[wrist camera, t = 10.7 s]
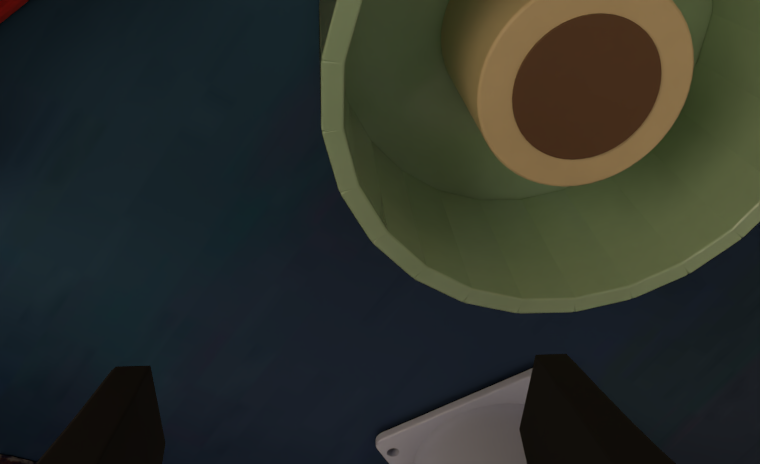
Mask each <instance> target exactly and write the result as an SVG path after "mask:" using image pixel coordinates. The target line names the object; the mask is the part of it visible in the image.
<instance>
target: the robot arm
mask: <svg viewBox="0 0 760 464" xmlns="http://www.w3.org/2000/svg"><path fill="white" fill-rule="evenodd" d="M376 447H377V449H378V451H379V452H380V453H381V454H382V456H383V457H384V458H385V459H386V460H387V462H388V463H389V464H676V463H675V462H673V461H672V460H671V459H670V458H669V457H668V456H667V455H666V454H665V453H663V452H662V451H661V450H660V449H659V448H658V447H657V446H656V445H655V444H654V443H653V442H652V441H651V440H650V439H649V438H648V437H647V436H646V435H645V434H644V433H643V432H642V431H641V430H640V429H639V428H638V427H637V426H636V425H634V424H633V423H632V422H631V421H630V420H629V419H628V418H627V417H626V416H625V415H624V414H623V412H622V411H621V410H620V409H619V408H618V407H617V406H616V405H615V404H614V403H613V402H612V401H611V400H610V399H609V398H608V397H607V396H606V395H605V394H604V393H603V392H602V391H601V390H600V389H599V388H598V387H597V385H596V384H595V383H594V382H593V381H592V380H591V379H590V378H589V377H588V376H587V375H586V374H585V373H584V372H583V371H582V370H581V369H580V368H579V367H578V365H577V364H576V363H575V362H574V361H573V360H572V359H571V358H570V357H569V356H568V355H567V354H550V355H536V356H535V360H534V365H533V368H531V369H529V370H527V371H524V372H522V373H520V374H517V375H515V376H513V377H510V378H508V379H506V380H503V381H501V382H499V383H496V384H494V385H492V386H489V387H487V388H485V389H482V390H480V391H478V392H475V393H473V394H471V395H468V396H466V397H464V398H461V399H459V400H457V401H454V402H452V403H450V404H447V405H445V406H443V407H440V408H438V409H436V410H433V411H431V412H429V413H426V414H424V415H422V416H419V417H417V418H415V419H412V420H410V421H408V422H405V423H403V424H401V425H398V426H396V427H394V428H391V429H389V430H387V431H384V432H382V433H380V434H379V435H378V436H377V437H376ZM164 448H165V439H164V434H163V429H162V424H161V418H160V413H159V408H158V403H157V398H156V393H155V387H154V382H153V377H152V372H151V367H150V366H127V367H115V368H114V369H113V370H112V371H111V372H110V373H109V374H108V376H107V377H106V378H105V379H104V381H103V382H102V383H101V385H100V386H99V387H98V389H97V390H96V391H95V392H94V394H93V395H92V396H91V398H90V399H89V400H88V401H87V403H86V404H85V405H84V406H83V408H82V409H81V410H80V411H79V413H78V414H77V415H76V416H75V418H74V419H73V420H72V421H71V423H70V424H69V425H68V426H67V428H66V429H65V430H64V431H63V432H62V433H61V435H60V436H59V437H58V438H57V439H56V441H55V442H54V443H53V444H52V445H51V446H50V448H49V449H48V450H47V451H46V452H45V453H44V455H43V456H42V457H41V458H40V459H39V461H38V462H37V463H36V464H162V461H163V454H164ZM392 448H395V449H392Z"/></svg>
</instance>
